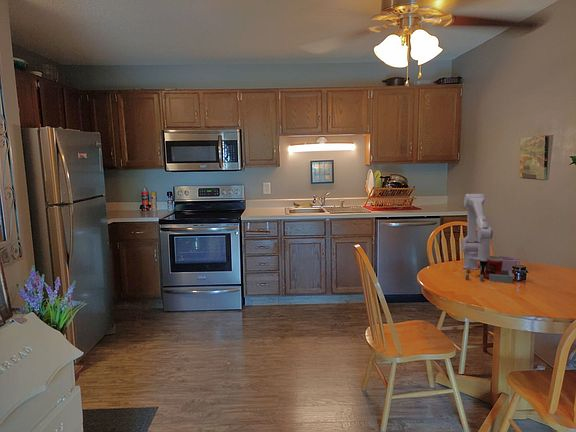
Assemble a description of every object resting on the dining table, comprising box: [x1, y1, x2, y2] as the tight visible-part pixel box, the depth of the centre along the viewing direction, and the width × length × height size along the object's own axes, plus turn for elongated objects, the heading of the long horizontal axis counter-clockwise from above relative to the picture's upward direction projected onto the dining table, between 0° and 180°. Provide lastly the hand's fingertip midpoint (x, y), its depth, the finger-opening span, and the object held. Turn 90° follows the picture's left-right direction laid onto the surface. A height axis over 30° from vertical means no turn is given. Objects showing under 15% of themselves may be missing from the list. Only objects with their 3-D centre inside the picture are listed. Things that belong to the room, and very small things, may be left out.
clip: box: [479, 255, 521, 272], centre depth 232 cm, size 20×12×7 cm, turn 64°
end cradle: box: [488, 269, 514, 284], centre depth 214 cm, size 14×11×4 cm
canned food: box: [484, 255, 503, 280], centre depth 214 cm, size 8×8×11 cm
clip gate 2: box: [479, 268, 485, 282], centre depth 218 cm, size 19×2×2 cm, turn 154°
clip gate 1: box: [465, 267, 471, 281], centre depth 221 cm, size 19×2×2 cm, turn 154°
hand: (482, 274), depth 218 cm, fingers closed, pressing on canned food
